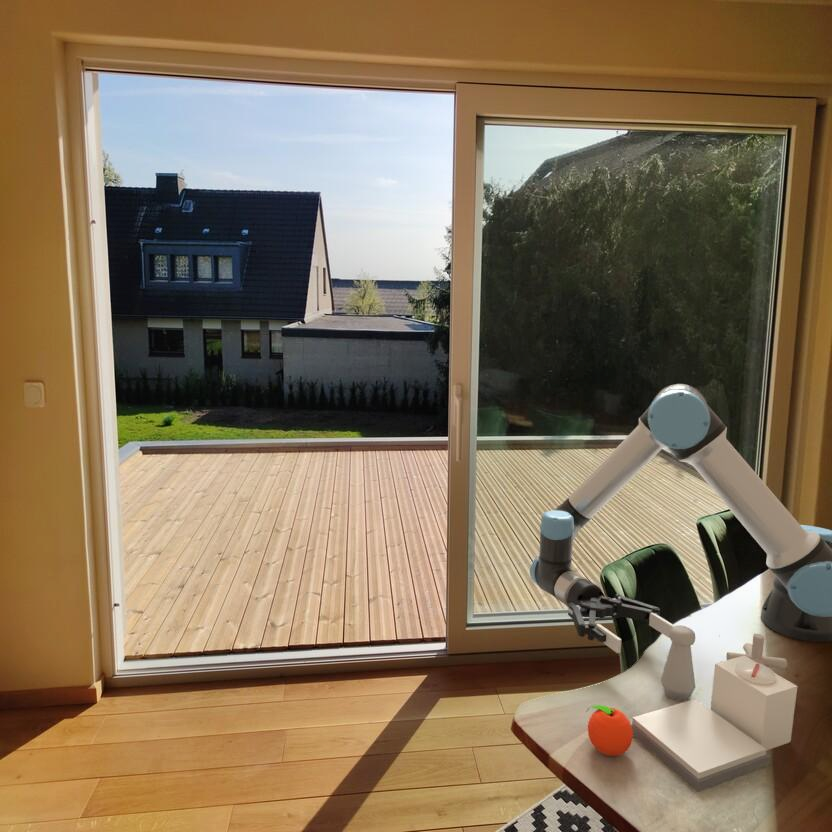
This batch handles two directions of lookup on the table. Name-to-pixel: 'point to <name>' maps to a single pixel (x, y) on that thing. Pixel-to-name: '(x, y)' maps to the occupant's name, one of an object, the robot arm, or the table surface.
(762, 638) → the pipe connector
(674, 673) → the salt shaker
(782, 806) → the table surface
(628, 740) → the clementine
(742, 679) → the dial scale
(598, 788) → the table surface
